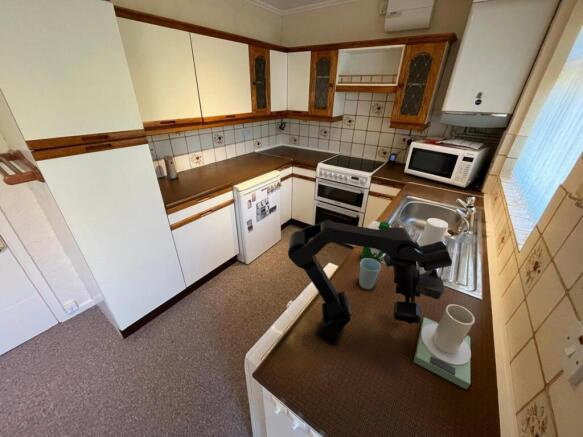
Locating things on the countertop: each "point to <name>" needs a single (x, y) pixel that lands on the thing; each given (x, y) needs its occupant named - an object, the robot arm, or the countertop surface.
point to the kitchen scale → (443, 356)
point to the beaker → (453, 328)
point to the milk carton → (372, 252)
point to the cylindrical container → (433, 233)
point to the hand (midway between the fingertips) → (411, 309)
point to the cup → (368, 272)
